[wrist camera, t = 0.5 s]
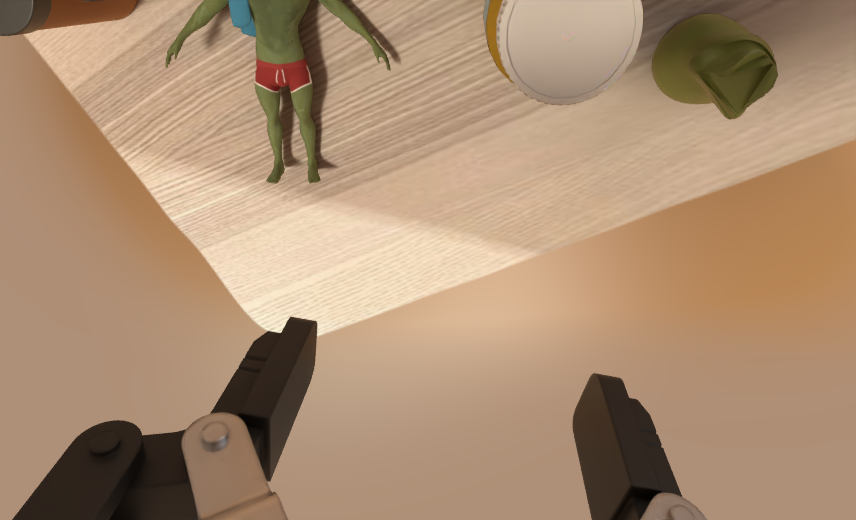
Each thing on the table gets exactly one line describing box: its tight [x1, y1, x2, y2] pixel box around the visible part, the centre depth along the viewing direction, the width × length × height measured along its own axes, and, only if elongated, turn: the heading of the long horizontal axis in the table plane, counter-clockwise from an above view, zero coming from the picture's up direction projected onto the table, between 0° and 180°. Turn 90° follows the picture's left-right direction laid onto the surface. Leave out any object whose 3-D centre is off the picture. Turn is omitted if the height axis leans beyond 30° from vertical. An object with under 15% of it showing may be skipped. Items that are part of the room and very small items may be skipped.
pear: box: [652, 14, 778, 119], centre depth 30 cm, size 6×5×10 cm
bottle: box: [483, 0, 643, 105], centre depth 28 cm, size 7×7×15 cm
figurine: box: [166, 0, 391, 184], centre depth 36 cm, size 16×4×18 cm
